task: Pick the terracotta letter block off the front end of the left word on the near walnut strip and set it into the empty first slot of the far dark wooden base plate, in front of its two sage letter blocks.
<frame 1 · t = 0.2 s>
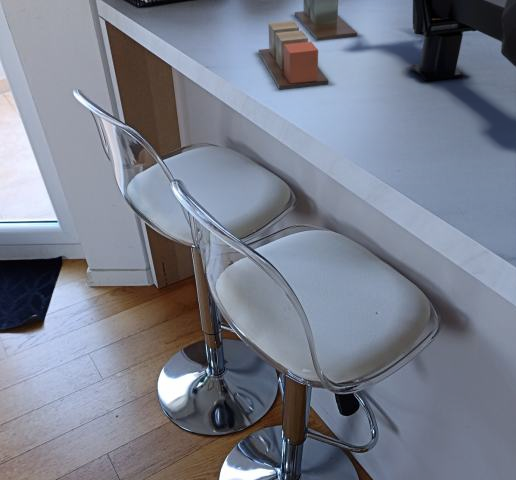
pill bottle: (436, 22, 108), on the worktop
left word: (291, 67, 92), on the worktop
letter block: (300, 77, 86), point 1 cm above the worktop, touching left word
dark wooden base plate: (324, 25, 109), on the worktop
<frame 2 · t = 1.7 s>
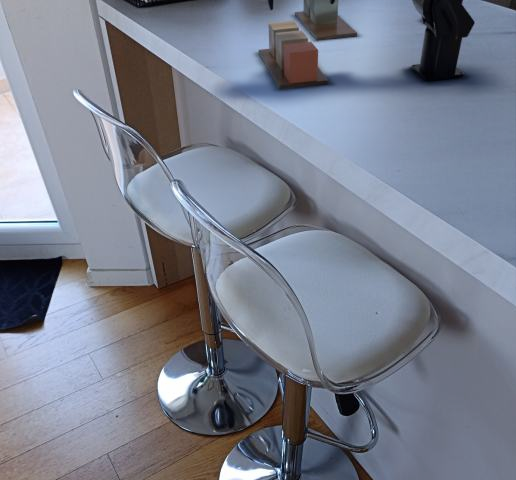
hand: (301, 6, 79), 11 cm above the worktop, tool pointing down, fingers open, 9 cm apart
nothing on the worktop moved.
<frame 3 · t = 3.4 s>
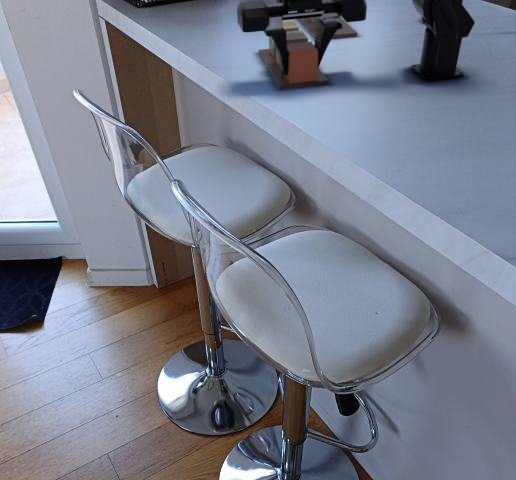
hand: (300, 72, 86), 1 cm above the worktop, tool pointing down, fingers closed on letter block, 4 cm apart
letter block: (300, 77, 86), point 1 cm above the worktop, touching gripper, left word
everything else where it was.
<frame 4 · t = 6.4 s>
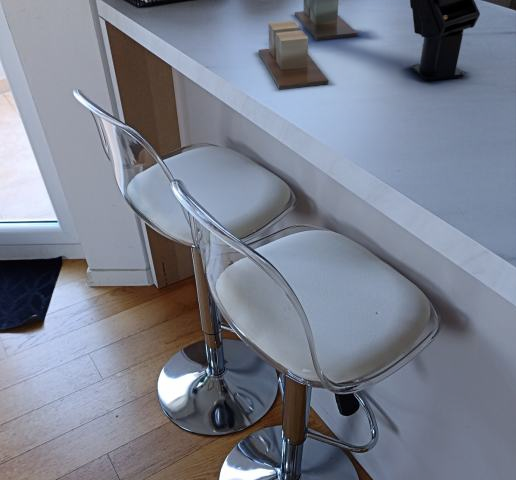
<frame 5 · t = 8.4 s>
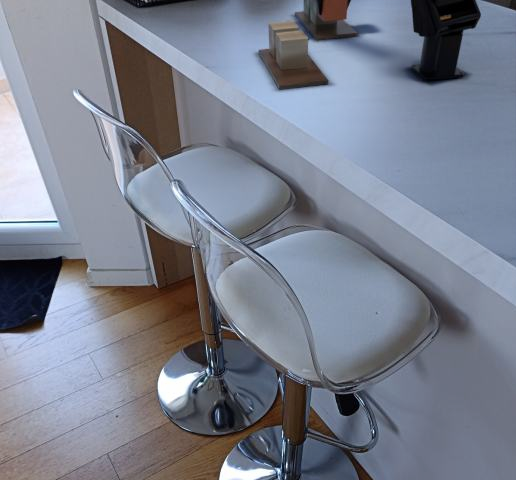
hand: (332, 13, 103), 3 cm above the worktop, tool pointing down, fingers closed on letter block, 4 cm apart
letter block: (331, 17, 103), point 3 cm above the worktop, touching gripper
everything else where it was.
when the fingers open (1 cm above the worktop, at t = 9.4 s): letter block stays where it is, resting on dark wooden base plate.
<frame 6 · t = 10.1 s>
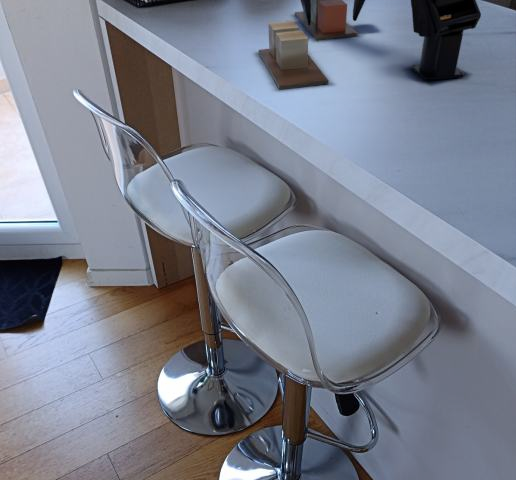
hand: (331, 22, 104), 2 cm above the worktop, tool pointing down, fingers open, 9 cm apart
letter block: (331, 29, 105), point 1 cm above the worktop, touching dark wooden base plate
everything else where it was.
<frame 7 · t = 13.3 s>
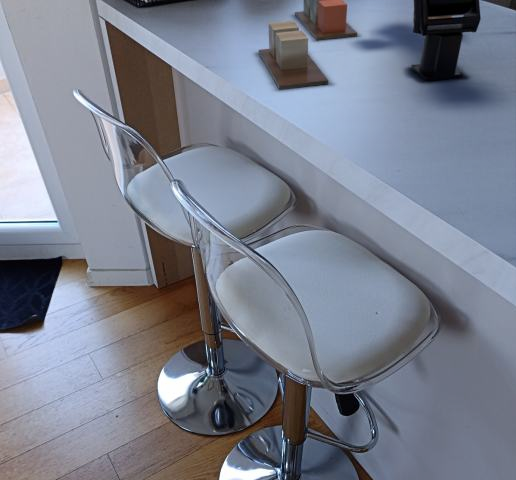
nothing on the worktop moved.
at the end: letter block 0.0 cm from the target spot on the dark wooden base plate, point 0.6 cm above the dark wooden base plate's base; letter block tilted 0°; the gripper is holding nothing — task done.
